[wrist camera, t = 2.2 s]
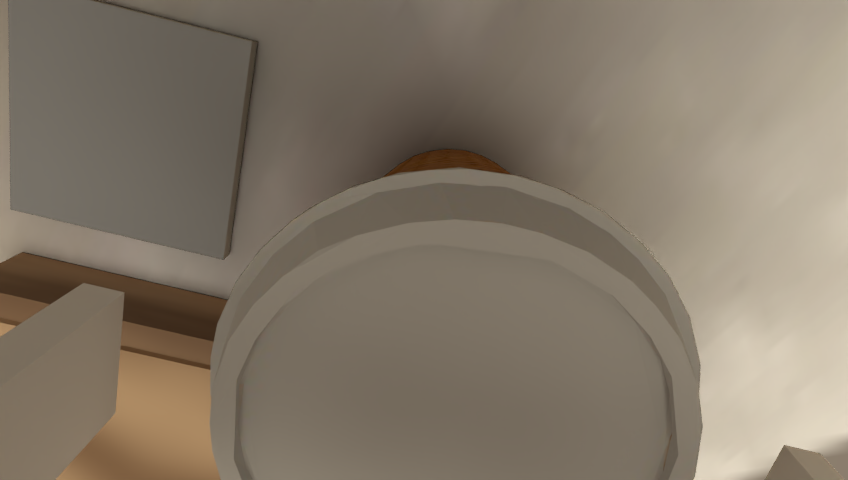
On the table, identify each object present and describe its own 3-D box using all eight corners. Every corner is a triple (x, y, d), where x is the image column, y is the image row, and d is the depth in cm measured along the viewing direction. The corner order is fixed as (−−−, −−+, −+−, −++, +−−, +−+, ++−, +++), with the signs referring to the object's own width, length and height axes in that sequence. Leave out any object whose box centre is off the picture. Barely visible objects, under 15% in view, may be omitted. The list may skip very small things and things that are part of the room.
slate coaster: (21, -19, 19) (8, -21, 18) (257, 41, 19) (251, 41, 18) (22, 204, 21) (10, 209, 21) (229, 253, 22) (223, 259, 21)
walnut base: (22, 252, 22) (-47, 286, 19) (321, 321, 23) (301, 366, 19) (22, 485, 26) (-34, 544, 23) (276, 539, 27) (254, 604, 23)
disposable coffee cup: (359, 361, 23) (279, 667, 12) (290, 135, 20) (91, 257, 9) (590, 318, 22) (744, 609, 11) (555, 74, 19) (717, 123, 8)
